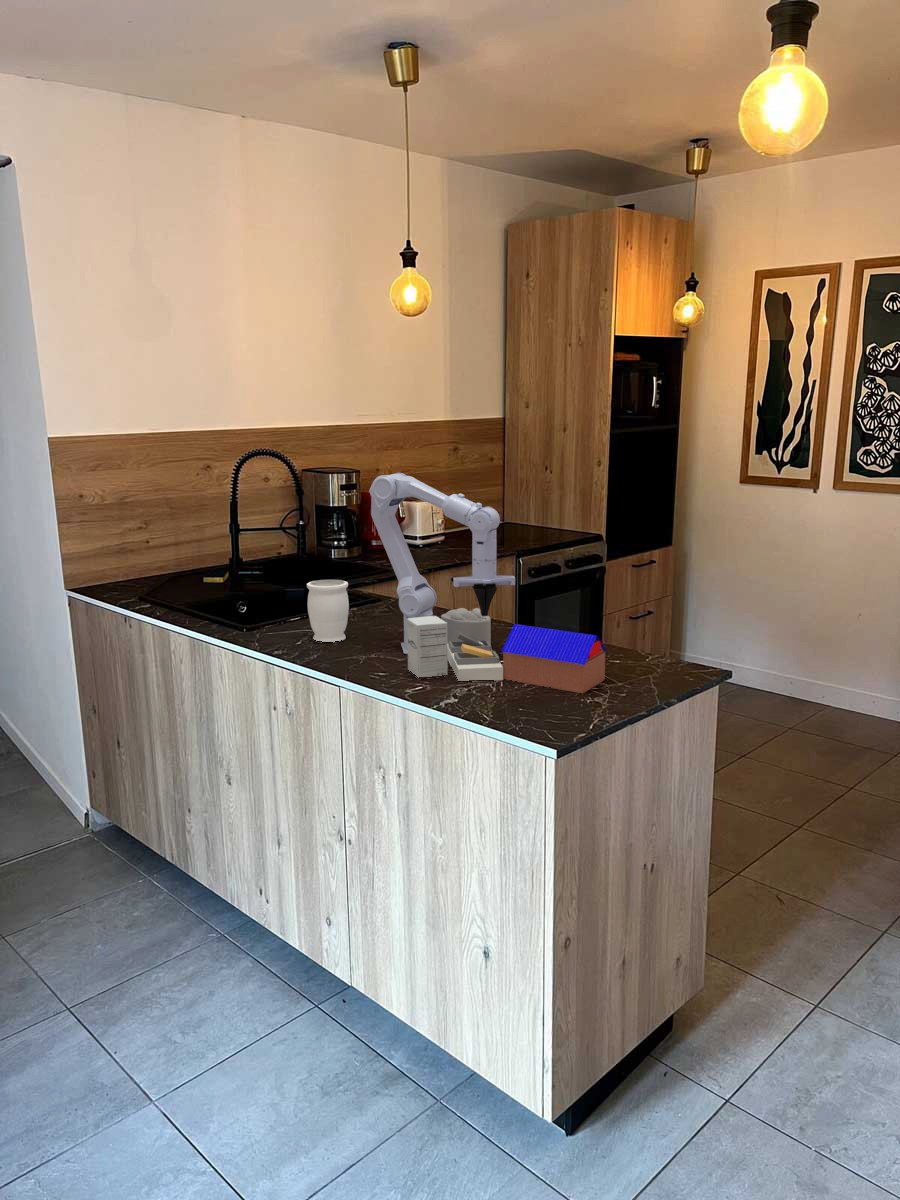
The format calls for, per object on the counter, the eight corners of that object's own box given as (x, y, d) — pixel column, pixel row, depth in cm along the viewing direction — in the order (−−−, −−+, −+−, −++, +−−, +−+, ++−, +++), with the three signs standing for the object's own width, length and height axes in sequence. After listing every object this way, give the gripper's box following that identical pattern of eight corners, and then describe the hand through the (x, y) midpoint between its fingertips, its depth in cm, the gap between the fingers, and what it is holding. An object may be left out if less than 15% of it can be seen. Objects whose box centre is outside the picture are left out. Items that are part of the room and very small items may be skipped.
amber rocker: (460, 647, 209) (462, 643, 209) (489, 655, 210) (490, 651, 210) (463, 651, 206) (464, 647, 205) (492, 659, 207) (493, 655, 207)
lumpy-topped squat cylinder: (464, 635, 243) (464, 603, 241) (500, 644, 234) (500, 611, 232) (435, 643, 236) (435, 610, 234) (472, 652, 226) (472, 618, 225)
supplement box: (407, 671, 211) (406, 617, 208) (437, 667, 214) (436, 614, 211) (417, 680, 204) (416, 624, 202) (448, 676, 207) (448, 621, 204)
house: (526, 667, 214) (527, 618, 212) (606, 680, 204) (608, 629, 201) (501, 680, 204) (501, 629, 202) (583, 695, 194) (585, 641, 191)
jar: (302, 643, 236) (300, 585, 233) (317, 633, 246) (315, 578, 242) (341, 645, 233) (339, 587, 230) (355, 635, 243) (353, 579, 240)
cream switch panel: (445, 655, 224) (445, 638, 223) (486, 653, 225) (486, 636, 224) (458, 682, 202) (458, 663, 202) (503, 680, 204) (503, 661, 203)
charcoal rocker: (455, 634, 219) (457, 630, 218) (481, 646, 220) (483, 642, 220) (457, 638, 215) (459, 634, 215) (483, 650, 217) (485, 646, 216)
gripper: (456, 562, 212) (456, 620, 215) (517, 561, 214) (517, 617, 217) (452, 557, 219) (452, 613, 222) (511, 556, 221) (511, 611, 224)
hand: (484, 615), depth 220 cm, fingers closed
